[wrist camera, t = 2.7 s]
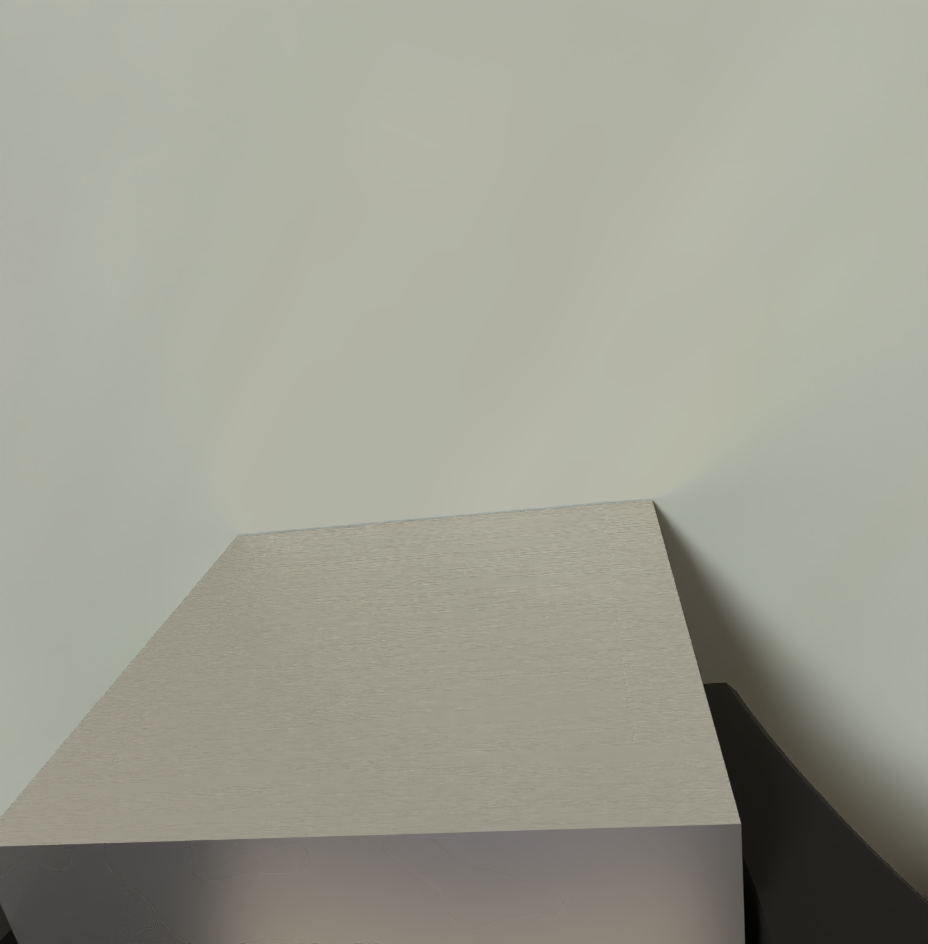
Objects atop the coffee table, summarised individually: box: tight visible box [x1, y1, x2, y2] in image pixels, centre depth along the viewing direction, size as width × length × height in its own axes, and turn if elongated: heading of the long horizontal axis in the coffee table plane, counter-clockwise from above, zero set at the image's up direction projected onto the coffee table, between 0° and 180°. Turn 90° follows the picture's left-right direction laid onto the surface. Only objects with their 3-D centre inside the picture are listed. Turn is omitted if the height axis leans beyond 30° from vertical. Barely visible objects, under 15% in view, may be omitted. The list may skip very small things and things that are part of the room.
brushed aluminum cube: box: [0, 500, 745, 944], centre depth 9 cm, size 5×5×5 cm
